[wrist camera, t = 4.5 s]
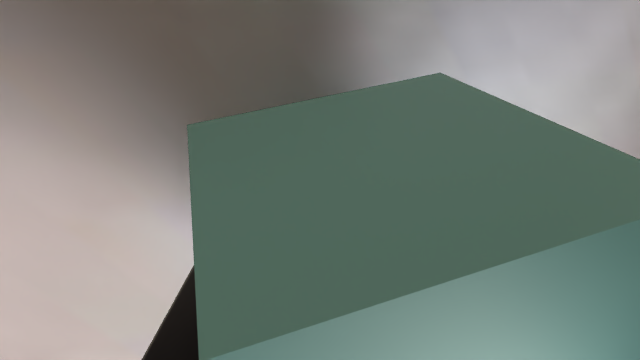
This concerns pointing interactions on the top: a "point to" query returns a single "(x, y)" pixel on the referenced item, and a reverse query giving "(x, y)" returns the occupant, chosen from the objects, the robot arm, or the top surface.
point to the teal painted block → (412, 231)
